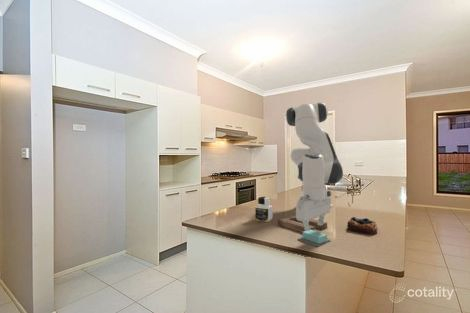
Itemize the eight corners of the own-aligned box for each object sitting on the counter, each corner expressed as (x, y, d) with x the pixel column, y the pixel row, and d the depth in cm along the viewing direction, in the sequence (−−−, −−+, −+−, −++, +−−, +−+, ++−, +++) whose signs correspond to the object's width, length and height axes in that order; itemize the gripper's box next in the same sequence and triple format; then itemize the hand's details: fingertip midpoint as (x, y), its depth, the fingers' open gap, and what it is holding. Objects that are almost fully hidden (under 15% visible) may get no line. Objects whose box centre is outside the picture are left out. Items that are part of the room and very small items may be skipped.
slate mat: (311, 235, 103) (311, 233, 103) (330, 241, 95) (330, 239, 95) (297, 239, 97) (297, 238, 97) (317, 246, 90) (317, 245, 90)
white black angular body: (255, 220, 126) (255, 197, 125) (260, 217, 132) (260, 195, 132) (268, 222, 122) (267, 198, 122) (272, 218, 129) (272, 196, 128)
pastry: (350, 225, 117) (350, 213, 116) (379, 229, 109) (379, 216, 109) (345, 231, 108) (345, 218, 108) (375, 236, 100) (375, 222, 100)
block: (310, 235, 101) (310, 229, 101) (327, 241, 94) (326, 234, 94) (302, 237, 98) (302, 231, 98) (319, 243, 91) (319, 237, 91)
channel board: (296, 219, 126) (296, 214, 126) (327, 227, 112) (327, 222, 112) (278, 224, 118) (278, 219, 118) (309, 234, 103) (309, 228, 103)
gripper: (305, 198, 87) (306, 235, 87) (333, 191, 100) (333, 224, 100) (291, 196, 92) (291, 231, 92) (320, 189, 105) (320, 220, 105)
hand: (314, 227), depth 96 cm, fingers open, 8 cm apart
